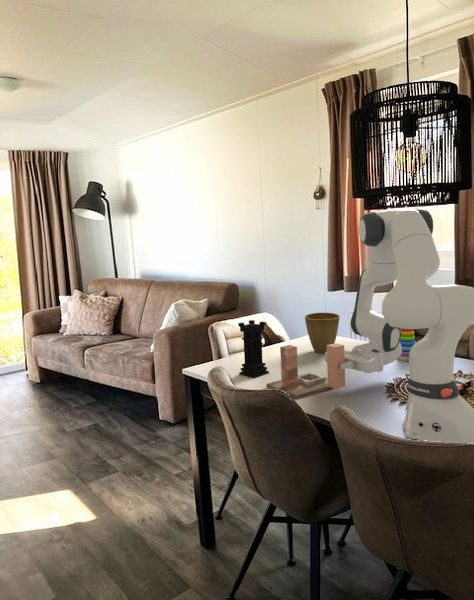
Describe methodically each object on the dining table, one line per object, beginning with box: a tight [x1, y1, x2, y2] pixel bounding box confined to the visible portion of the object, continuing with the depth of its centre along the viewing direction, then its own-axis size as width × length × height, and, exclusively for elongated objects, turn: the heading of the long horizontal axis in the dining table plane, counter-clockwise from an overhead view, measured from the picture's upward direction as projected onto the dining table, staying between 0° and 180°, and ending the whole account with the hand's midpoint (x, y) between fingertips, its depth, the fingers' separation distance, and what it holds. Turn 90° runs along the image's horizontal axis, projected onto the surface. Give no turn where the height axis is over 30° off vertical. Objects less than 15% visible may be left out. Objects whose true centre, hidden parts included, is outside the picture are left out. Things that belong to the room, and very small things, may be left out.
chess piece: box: [237, 319, 270, 379], centre depth 198 cm, size 8×8×20 cm
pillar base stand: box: [266, 344, 332, 400], centre depth 181 cm, size 16×20×15 cm
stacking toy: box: [397, 328, 417, 362], centre depth 207 cm, size 8×8×19 cm
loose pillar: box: [326, 342, 346, 390], centre depth 172 cm, size 4×4×14 cm
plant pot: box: [304, 312, 341, 355], centre depth 225 cm, size 15×15×16 cm
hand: (334, 364), depth 172 cm, fingers closed on loose pillar, 4 cm apart
